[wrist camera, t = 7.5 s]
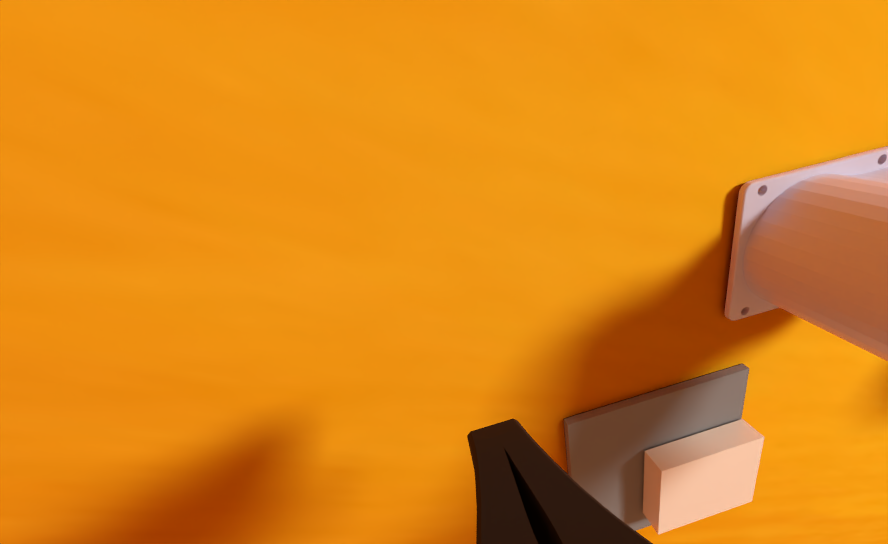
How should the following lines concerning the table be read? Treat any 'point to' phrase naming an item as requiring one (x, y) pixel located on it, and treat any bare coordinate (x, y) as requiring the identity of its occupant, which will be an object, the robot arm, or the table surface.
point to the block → (700, 475)
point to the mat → (645, 435)
